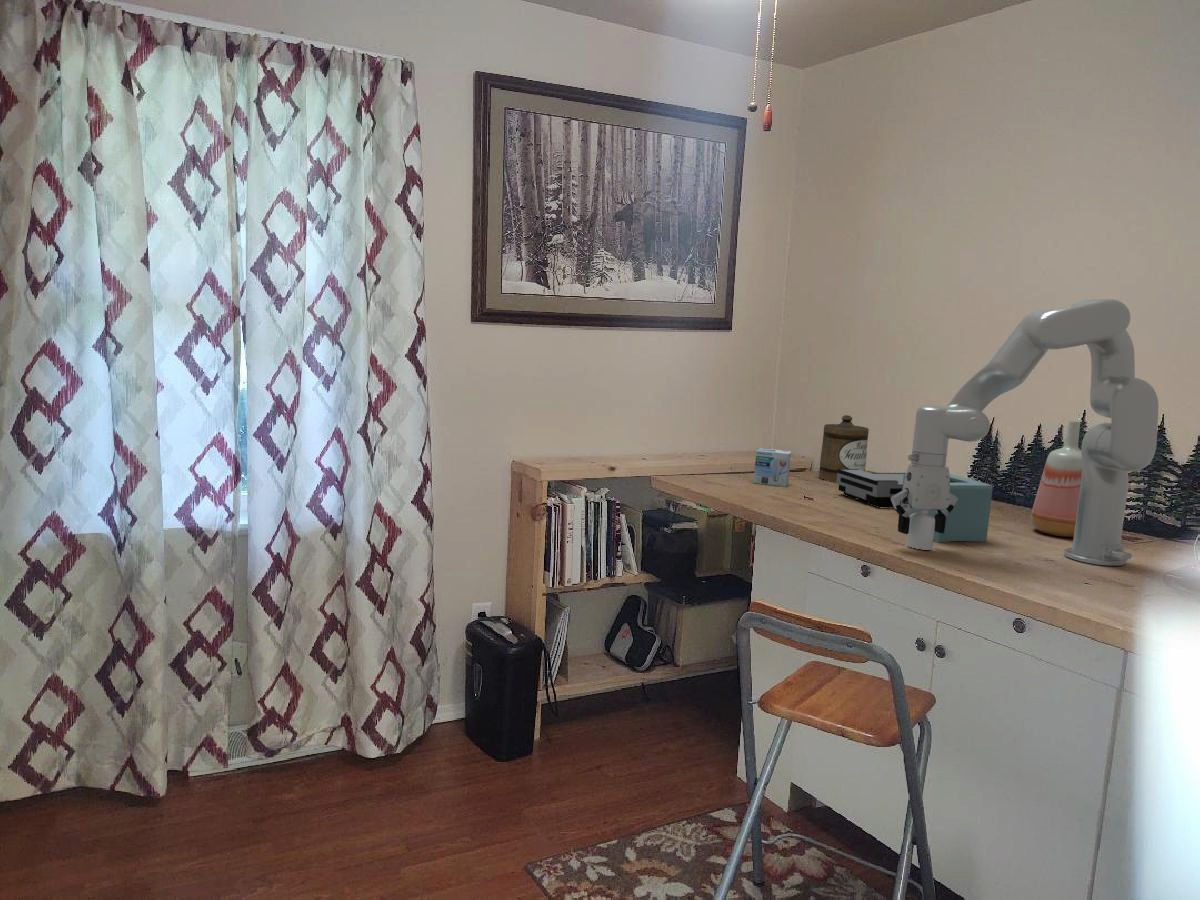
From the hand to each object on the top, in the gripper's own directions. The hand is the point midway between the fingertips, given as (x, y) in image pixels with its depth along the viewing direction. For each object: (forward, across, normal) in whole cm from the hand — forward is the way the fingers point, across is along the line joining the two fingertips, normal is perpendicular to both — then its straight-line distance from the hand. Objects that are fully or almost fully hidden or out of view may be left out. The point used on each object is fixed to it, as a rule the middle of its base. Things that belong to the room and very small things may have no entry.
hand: (920, 532), depth 208 cm
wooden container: (+4, +34, +89) cm, 95 cm away
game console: (+4, +33, +54) cm, 63 cm away
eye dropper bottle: (+4, 0, 0) cm, 4 cm away
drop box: (+4, +16, +13) cm, 21 cm away
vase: (+4, +51, +11) cm, 52 cm away
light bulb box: (+4, +4, +82) cm, 82 cm away
